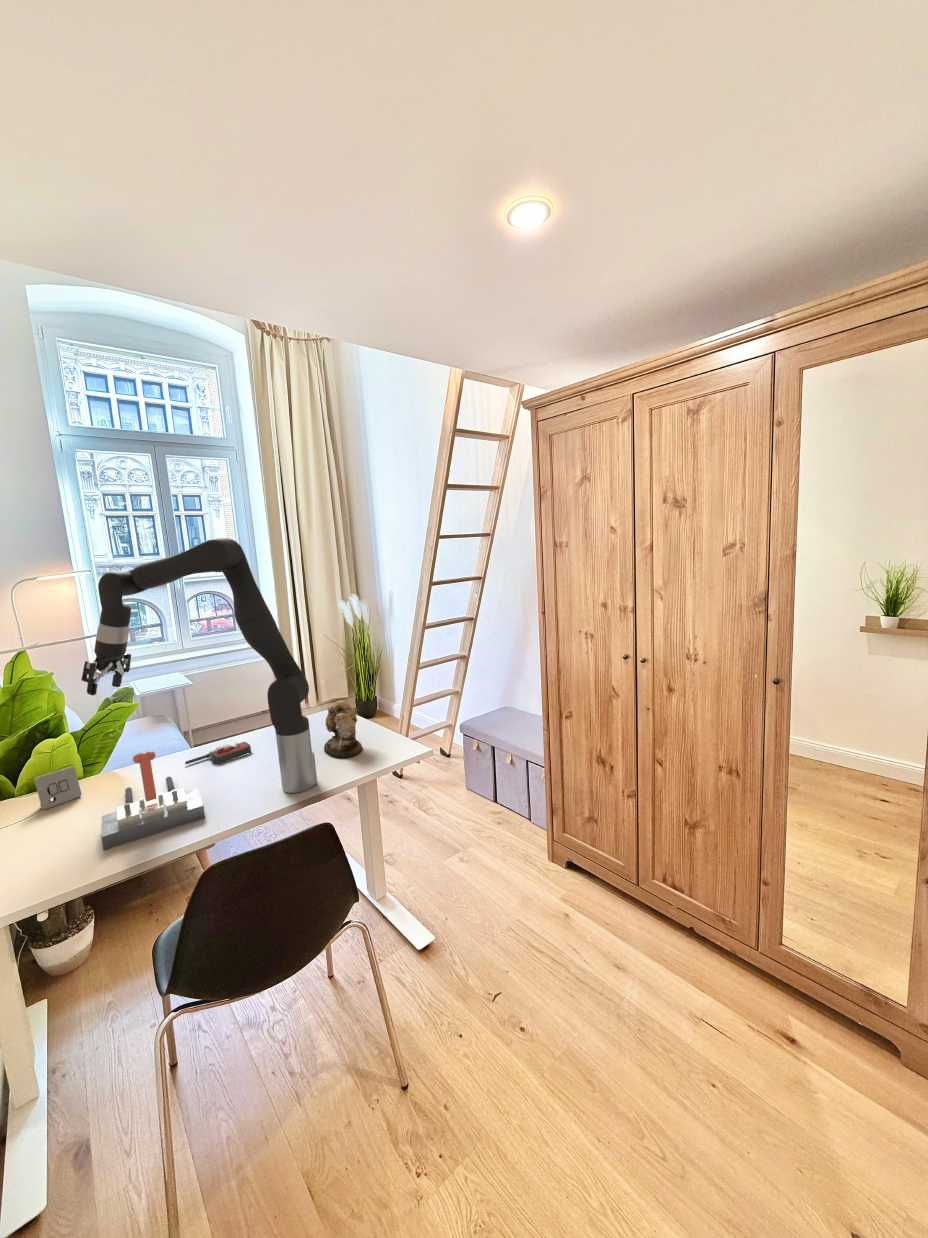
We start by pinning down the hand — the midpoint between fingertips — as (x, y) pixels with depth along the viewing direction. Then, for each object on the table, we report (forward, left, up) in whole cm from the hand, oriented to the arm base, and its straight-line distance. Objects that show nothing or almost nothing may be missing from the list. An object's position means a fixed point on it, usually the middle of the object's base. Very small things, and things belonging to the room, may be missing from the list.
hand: (104, 690), depth 147 cm
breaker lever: (-7, +31, -24) cm, 40 cm away
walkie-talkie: (-28, -2, -31) cm, 42 cm away
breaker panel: (-7, +31, -31) cm, 44 cm away
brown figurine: (-63, +19, -31) cm, 73 cm away
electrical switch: (+15, -2, -31) cm, 34 cm away
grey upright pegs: (-7, +15, -31) cm, 35 cm away
